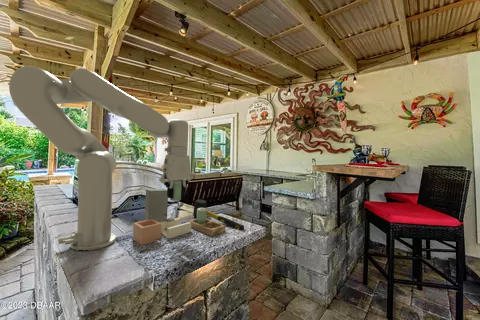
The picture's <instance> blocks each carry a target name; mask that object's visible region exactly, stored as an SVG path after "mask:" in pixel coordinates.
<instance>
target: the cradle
mask: <svg viewBox="0 0 480 320" xmlns="http://www.w3.org/2000/svg"><path fill="white" fill-rule="evenodd" d="M159 223H161V236H163V237H165V238H166V239H171V238H175V237H178V236H181V235H185V234H187V233H191V232H192V227H191V222H188V221H187V222H184V223H182V218H181V217H175V218H173V217H167V219H165V221H163V222H159ZM174 225H176V226H174ZM171 226H172V227H171ZM167 227H168V228H167ZM166 228H167V231H166Z"/></svg>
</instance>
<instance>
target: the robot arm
mask: <svg viewBox="0 0 480 320" xmlns="http://www.w3.org/2000/svg"><path fill="white" fill-rule="evenodd" d="M8 90H9V95H10V98H11V100H12V101H13V103H14V105H15V106H16V108H17V109H18V110H19V111H20V112H21V113H22V115H23V116H24V117H26V118H27V120H28V121H30V123H31V124H33V125H34V126H35V127H36V129H38V131H39V132H41V134H42V135H44V136H45V138H47V140H49V141H50V142H51V143H52V144H53V146H55V147H56V149H57V150H59V151H60V152H62V153H64V154H66V155H67V154H68V155H73V156H74V157H75V158H76V159H77V160H78V162H77V165H76V166H77V167H76V175H77V186H78V187H77V188H78V189H77V190H78V191H77V192H78V193H77V194H78V195H77V199H78V200H77V202H78V203H77V230H75V231H74V233H73V234H70V235H69V236H62V237H58V238H57V243H58V245H62V244H64V246H66V245H70V248H71V249H72V250H74V249H75V250H74V251H78V250H84V252H85V250H88V251H93V250H94V251H95V250H99V249H103V248H106V247H108V246H110V245H112V244H113V243H114V242H116V239H117V236H116V235H115V234H114V233H112V213H113V212H112V211H113V210H112V209H113V172H114V171H115V170H116V167H117V159H116V157H115V156H114V155H113V154H112V152H110V151H109V149H107V148H106V146H105V145H104V144H103V143H101V141H100V139H98V138H97V137H96V136H95V135H94V134H92V133H91V132H90V131H89V130H87V129H85V128H82V127H80V126H78V124H76V122H74V121H73V120H72V118H70V117H69V116H68V115H67V114H66V112H65V111H64V110H63V109H61V108H60V106H58V105H60V104H61V105H62V104H63V105H65V104H77V103H78V104H80V103H90V102H91V103H94V104H97V106H100V107H101V108H103V109H105V110H107V111H108V112H109V113H111V114H113V115H115V116H117V117H121V118H124V119H126V120H129V122H132V123H133V124H135V125H137V126H138V127H140V128H142V129H143V130H145V131H147V132H148V134H149V136H151V137H154V138H157V139H160V138H167V147H165V148H164V152H166V154H165V157H164V162H163V169H162V175H161V176H160V178H159V179H158V181H159V182H160V183H162V184H163V185H164V186H165V187H166V190H167V196H168V199H173V195H174V189H173V188H172V187H173V182H174V181H181V183H182V184H181V198H184V197H185V188H186V187H187V184H188V183H189V182H190V181H191V180H193V178H192V176H191V174H192V173H191V172H192V171H191V159H190V155H188V141H189V122H187V121H186V120H183V119H170V120H168V119H167V118H166V117H165V116H164V115H163V114H162V113H160V112H158V111H157V110H155V109H153V108H152V107H151V106H150V105H148V104H146V103H144V102H143V101H141V100H139V99H137V98H135V97H133V96H131V95H129V94H128V93H126V92H125V91H123V90H121V89H120V88H119V87H117V86H115V85H114V84H112V83H110V82H109V81H108V80H106V79H105V78H103V77H101V76H100V75H98V74H97V73H96V72H93V71H92V70H89V69H87V68H77V69H74V70H73V71H72V72H71V73H70V75H69V78H67V79H66V78H61V79H60V78H59V79H58V78H57V77H56V76H55V75H53V74H52V73H50V72H49V71H47V70H45V69H44V68H41V67H37V66H33V65H25V66H21V67H19V68H16V70H15V71H14V72H13V73H12V75H11V77H10V79H9V83H8Z"/></svg>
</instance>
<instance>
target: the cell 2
mask: <svg viewBox="0 0 480 320" xmlns="http://www.w3.org/2000/svg"><path fill="white" fill-rule="evenodd" d="M206 210H207V208H206V209H205V208H198V209H197V222H196V223H198V224H203V223H206V219H207V215H206Z"/></svg>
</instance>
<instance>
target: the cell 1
mask: <svg viewBox="0 0 480 320" xmlns="http://www.w3.org/2000/svg"><path fill="white" fill-rule="evenodd" d="M181 184H182V183H181V181H174V182H173V187H172V188H173V189H174V195H173V199H170V198H169V199H170V201H172V202H178V201H181V200H182V197H181Z"/></svg>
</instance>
